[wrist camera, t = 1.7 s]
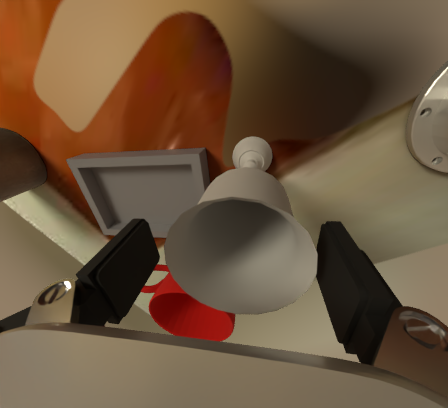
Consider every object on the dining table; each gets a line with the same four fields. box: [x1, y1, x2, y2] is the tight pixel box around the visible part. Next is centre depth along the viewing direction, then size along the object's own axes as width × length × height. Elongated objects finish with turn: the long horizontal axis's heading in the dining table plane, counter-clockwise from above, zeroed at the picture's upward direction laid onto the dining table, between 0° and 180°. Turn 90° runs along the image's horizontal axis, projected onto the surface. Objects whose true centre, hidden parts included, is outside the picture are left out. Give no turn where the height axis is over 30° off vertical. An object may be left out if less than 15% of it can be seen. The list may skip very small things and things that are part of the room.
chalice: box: [164, 137, 318, 314], centre depth 16 cm, size 7×7×18 cm
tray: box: [66, 148, 210, 238], centre depth 28 cm, size 19×13×3 cm
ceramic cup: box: [141, 264, 235, 341], centre depth 31 cm, size 13×17×10 cm
